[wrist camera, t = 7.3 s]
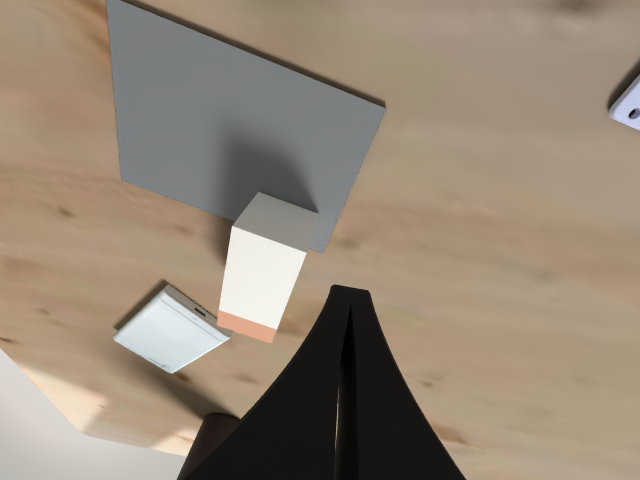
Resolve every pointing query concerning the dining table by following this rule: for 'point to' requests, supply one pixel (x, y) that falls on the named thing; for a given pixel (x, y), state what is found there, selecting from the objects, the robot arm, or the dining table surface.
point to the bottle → (207, 438)
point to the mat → (230, 123)
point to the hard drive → (171, 331)
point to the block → (263, 265)
